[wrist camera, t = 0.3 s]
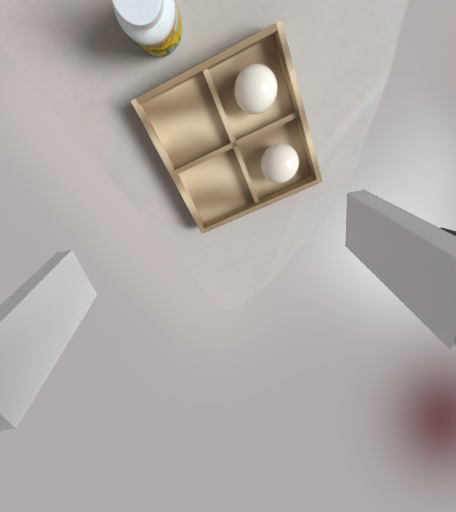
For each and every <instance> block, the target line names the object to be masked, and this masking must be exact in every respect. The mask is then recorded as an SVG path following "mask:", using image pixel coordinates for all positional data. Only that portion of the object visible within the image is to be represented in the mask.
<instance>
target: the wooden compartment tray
mask: <svg viewBox="0 0 456 512" xmlns="http://www.w3.org/2000/svg"><path fill="white" fill-rule="evenodd" d="M251 64H263V65H265V66H267V67H268V68H270V69H271V71H272V72H273V73H274V75H275V77H276V80H277V95H276V98H275V101H274V103H273V104H272V106H271V107H270V108H269V109H268V110H267V111H265V112H263V113H261V114H257V115H252V114H248V113H246V112H244V111H243V110H242V109H241V108H240V107H239V106H238V104H237V102H236V99H235V95H234V86H235V82H236V79H237V77H238V75H239V73H240V72H241V71H242V70H243V69H244V68H245V67H247V66H249V65H251ZM131 103H132V104H133V106H134V108H135V110H136V112H137V114H138V116H139V118H140V119H141V121H142V123H143V125H144V127H145V129H146V131H147V132H148V134H149V136H150V138H151V140H152V142H153V144H154V146H155V147H156V149H157V151H158V153H159V155H160V157H161V159H162V160H163V162H164V164H165V166H166V168H167V170H168V172H169V174H170V175H171V177H172V179H173V181H174V183H175V185H176V187H177V188H178V190H179V192H180V194H181V196H182V198H183V200H184V202H185V203H186V205H187V207H188V209H189V211H190V213H191V215H192V216H193V218H194V220H195V222H196V224H197V226H198V228H199V230H200V231H201V233H202V234H203V233H205V232H207V231H210V230H212V229H214V228H217V227H219V226H221V225H224V224H226V223H228V222H231V221H233V220H235V219H238V218H240V217H242V216H244V215H247V214H249V213H251V212H254V211H256V210H258V209H261V208H263V207H265V206H268V205H270V204H272V203H275V202H277V201H279V200H282V199H284V198H286V197H288V196H291V195H293V194H295V193H298V192H300V191H302V190H305V189H307V188H309V187H312V186H314V185H316V184H319V183H321V182H322V178H321V174H320V170H319V166H318V162H317V158H316V154H315V150H314V146H313V143H312V139H311V135H310V131H309V127H308V123H307V119H306V115H305V111H304V107H303V103H302V99H301V95H300V91H299V87H298V83H297V79H296V75H295V71H294V67H293V63H292V59H291V55H290V51H289V47H288V44H287V40H286V36H285V32H284V28H283V24H282V20H281V21H279V22H277V23H275V24H273V25H271V26H270V27H268V28H266V29H264V30H262V31H260V32H258V33H257V34H255V35H253V36H251V37H249V38H247V39H245V40H244V41H242V42H240V43H238V44H236V45H234V46H232V47H231V48H229V49H227V50H225V51H223V52H221V53H219V54H217V55H216V56H214V57H212V58H210V59H208V60H206V61H204V62H203V63H201V64H199V65H197V66H195V67H193V68H191V69H190V70H188V71H186V72H184V73H182V74H180V75H178V76H177V77H175V78H173V79H171V80H169V81H167V82H165V83H163V84H162V85H160V86H158V87H156V88H154V89H152V90H150V91H149V92H147V93H145V94H143V95H141V96H139V97H137V98H136V99H134V100H132V101H131ZM278 143H284V144H288V145H290V146H291V147H293V148H294V149H295V151H296V152H297V154H298V157H299V167H298V170H297V172H296V174H295V175H294V176H293V178H291V179H290V180H289V181H287V182H284V183H273V182H270V181H269V180H267V179H266V178H265V177H264V175H263V174H262V171H261V167H260V163H261V158H262V155H263V154H264V152H265V151H266V150H267V149H268V148H269V147H270V146H272V145H274V144H278Z"/></svg>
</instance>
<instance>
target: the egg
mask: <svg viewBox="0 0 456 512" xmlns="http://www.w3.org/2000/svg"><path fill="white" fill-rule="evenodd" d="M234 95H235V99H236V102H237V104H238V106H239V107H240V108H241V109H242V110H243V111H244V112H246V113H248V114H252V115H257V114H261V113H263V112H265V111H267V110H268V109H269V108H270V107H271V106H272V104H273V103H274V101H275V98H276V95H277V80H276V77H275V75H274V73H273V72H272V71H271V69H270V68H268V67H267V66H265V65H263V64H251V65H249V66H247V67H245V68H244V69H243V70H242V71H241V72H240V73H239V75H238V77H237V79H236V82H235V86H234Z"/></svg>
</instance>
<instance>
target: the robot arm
mask: <svg viewBox="0 0 456 512" xmlns="http://www.w3.org/2000/svg"><path fill="white" fill-rule="evenodd" d="M346 247H347V248H348V249H349V250H350V251H351V252H353V253H354V255H355V256H356V257H357V258H358V259H359V260H360V261H361V262H363V263H364V265H366V266H367V268H368V269H370V270H371V271H372V272H373V274H375V275H376V276H377V277H378V278H379V279H380V280H381V281H382V282H383V283H384V284H385V285H386V286H387V287H388V288H389V289H390V290H391V291H392V292H393V293H394V294H395V295H396V296H397V297H398V298H399V299H400V300H401V301H402V302H403V303H404V304H405V305H406V306H407V307H408V308H409V309H410V310H411V311H412V312H413V313H414V314H415V315H416V316H417V317H418V318H419V319H420V320H421V321H422V322H423V323H424V324H425V325H426V326H427V327H428V328H429V329H430V330H431V331H432V332H433V333H434V334H435V335H436V336H437V337H438V338H439V339H440V340H441V341H442V342H443V343H444V344H445V345H446V346H447V347H448V348H449V349H450V350H455V349H456V231H452V230H448V229H445V228H438V227H436V226H434V225H432V224H431V223H429V222H426V221H425V220H423V219H421V218H419V217H417V216H415V215H413V214H411V213H409V212H407V211H405V210H403V209H401V208H399V207H397V206H395V205H393V204H391V203H389V202H387V201H385V200H383V199H381V198H379V197H378V196H375V195H374V194H371V193H370V192H368V191H366V190H361V191H355V192H350V193H347V217H346ZM96 296H97V294H96V292H95V290H94V288H93V287H92V285H91V283H90V281H89V280H88V278H87V276H86V274H85V272H84V270H83V269H82V267H81V265H80V263H79V262H78V260H77V258H76V256H75V255H74V252H73V251H72V250H69V251H65V252H59V253H56V254H55V255H54V256H53V257H52V258H51V259H50V260H49V261H48V262H47V263H45V264H44V265H43V266H42V267H41V268H40V269H39V270H38V271H37V272H36V273H35V274H34V275H33V276H31V277H30V278H29V279H28V280H27V281H26V282H25V283H24V284H23V285H22V286H21V287H20V288H19V289H17V290H16V291H15V293H13V294H12V295H11V296H10V297H9V298H8V299H7V300H6V301H5V302H3V303H2V304H1V305H0V431H4V430H9V429H15V428H16V427H17V426H18V424H19V422H20V421H21V419H22V417H23V416H24V414H25V412H26V411H27V409H28V407H29V406H30V404H31V403H32V401H33V399H34V397H35V396H36V394H37V393H38V391H39V389H40V388H41V386H42V384H43V383H44V381H45V380H46V378H47V376H48V375H49V373H50V371H51V370H52V368H53V366H54V365H55V363H56V362H57V360H58V358H59V357H60V355H61V353H62V352H63V350H64V349H65V347H66V345H67V343H68V342H69V340H70V339H71V337H72V335H73V334H74V332H75V331H76V329H77V327H78V326H79V324H80V322H81V321H82V319H83V317H84V316H85V314H86V312H87V311H88V309H89V307H90V306H91V304H92V303H93V301H94V299H95V298H96Z"/></svg>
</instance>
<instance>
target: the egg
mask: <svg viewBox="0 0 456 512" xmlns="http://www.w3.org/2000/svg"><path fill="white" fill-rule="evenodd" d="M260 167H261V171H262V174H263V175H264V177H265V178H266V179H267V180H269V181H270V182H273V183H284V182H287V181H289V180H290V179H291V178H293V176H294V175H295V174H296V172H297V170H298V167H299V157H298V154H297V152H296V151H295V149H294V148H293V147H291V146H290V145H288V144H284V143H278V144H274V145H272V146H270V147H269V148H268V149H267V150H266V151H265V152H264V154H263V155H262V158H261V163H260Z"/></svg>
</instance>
